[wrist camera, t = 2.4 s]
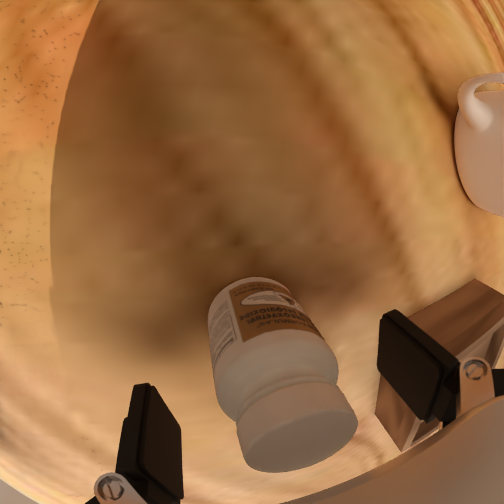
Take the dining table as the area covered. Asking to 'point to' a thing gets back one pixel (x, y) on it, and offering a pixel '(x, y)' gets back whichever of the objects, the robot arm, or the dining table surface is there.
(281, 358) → the pill bottle
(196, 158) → the dining table surface
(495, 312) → the walnut box
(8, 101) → the dining table surface
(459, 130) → the mug
